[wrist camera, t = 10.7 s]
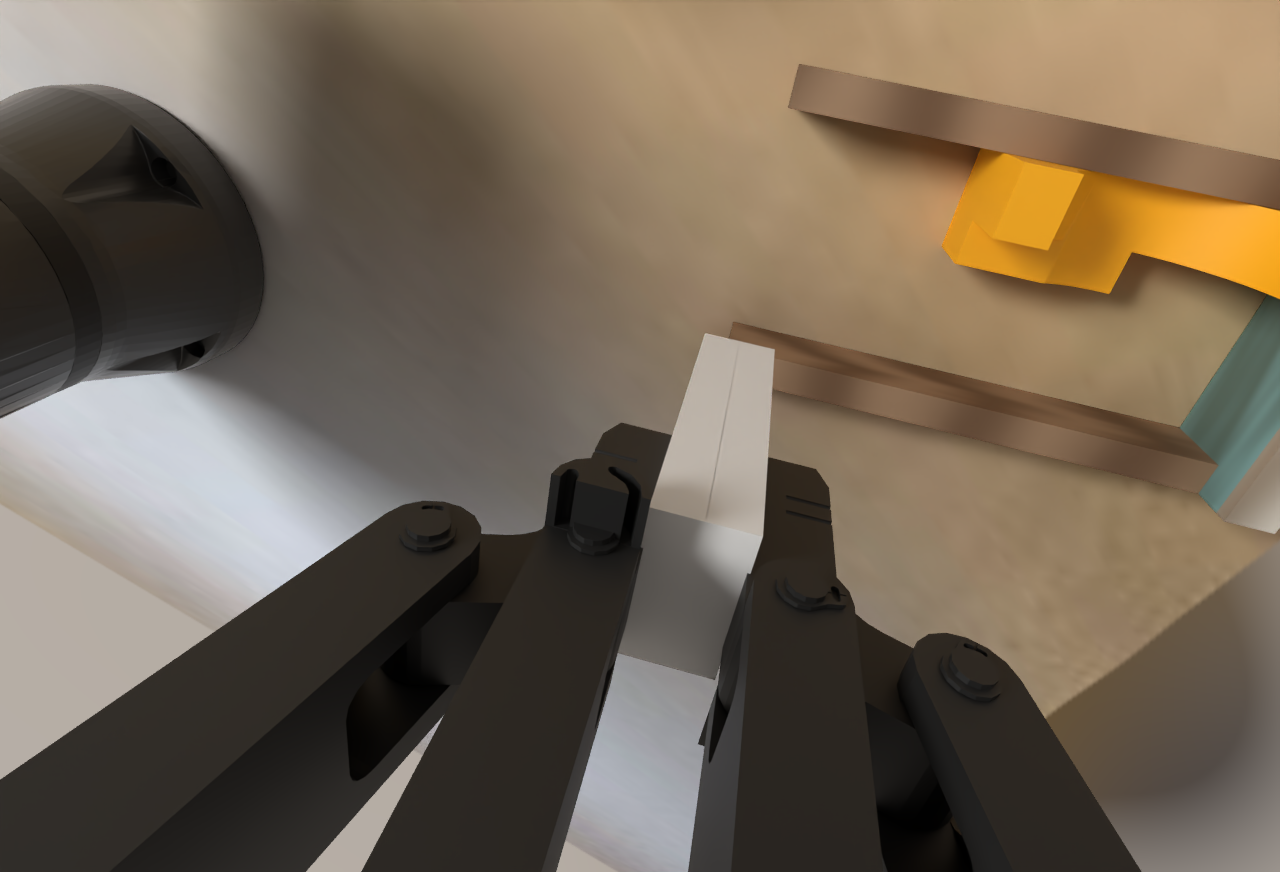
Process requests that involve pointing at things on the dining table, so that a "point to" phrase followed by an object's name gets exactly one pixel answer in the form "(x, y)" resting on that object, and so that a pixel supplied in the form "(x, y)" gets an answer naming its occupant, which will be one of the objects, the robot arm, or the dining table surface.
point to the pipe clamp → (1103, 226)
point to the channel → (1176, 457)
